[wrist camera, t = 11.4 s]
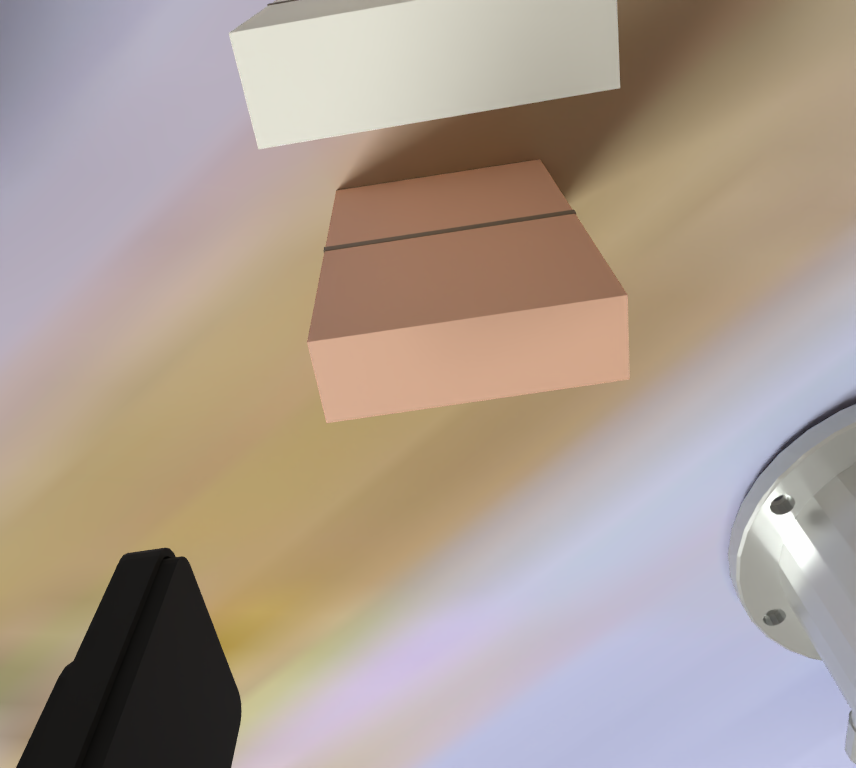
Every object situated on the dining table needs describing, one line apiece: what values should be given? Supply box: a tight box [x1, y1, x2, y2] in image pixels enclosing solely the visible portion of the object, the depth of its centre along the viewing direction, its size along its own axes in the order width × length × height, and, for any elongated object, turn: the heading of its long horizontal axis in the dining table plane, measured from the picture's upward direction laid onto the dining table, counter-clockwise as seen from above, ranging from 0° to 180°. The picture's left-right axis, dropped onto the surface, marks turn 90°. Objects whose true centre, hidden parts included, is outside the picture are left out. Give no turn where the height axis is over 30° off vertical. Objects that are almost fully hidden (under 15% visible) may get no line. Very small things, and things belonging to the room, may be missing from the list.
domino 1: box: [229, 0, 620, 149], centre depth 17 cm, size 2×6×10 cm, turn 99°
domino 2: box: [307, 159, 630, 423], centre depth 20 cm, size 2×6×10 cm, turn 98°
